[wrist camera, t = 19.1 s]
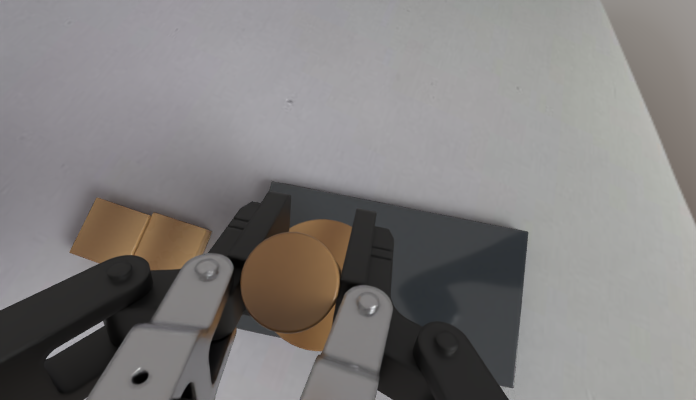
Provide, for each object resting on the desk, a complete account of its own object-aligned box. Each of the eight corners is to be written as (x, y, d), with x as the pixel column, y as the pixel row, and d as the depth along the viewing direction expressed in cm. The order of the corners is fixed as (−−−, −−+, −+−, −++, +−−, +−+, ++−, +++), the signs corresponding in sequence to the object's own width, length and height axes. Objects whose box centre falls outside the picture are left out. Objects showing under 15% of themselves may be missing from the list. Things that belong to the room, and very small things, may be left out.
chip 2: (213, 231, 26) (206, 229, 25) (190, 286, 25) (183, 286, 24) (161, 214, 26) (152, 211, 25) (137, 268, 25) (127, 267, 24)
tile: (521, 233, 26) (528, 231, 25) (507, 384, 23) (513, 388, 22) (274, 184, 26) (271, 180, 25) (238, 325, 24) (233, 327, 23)
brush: (387, 239, 22) (438, 177, 9) (370, 350, 20) (401, 457, 8) (284, 220, 22) (197, 136, 10) (260, 328, 21) (118, 398, 8)
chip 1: (158, 218, 26) (149, 215, 25) (133, 272, 25) (123, 271, 24) (107, 200, 26) (96, 197, 25) (81, 253, 25) (68, 252, 24)
